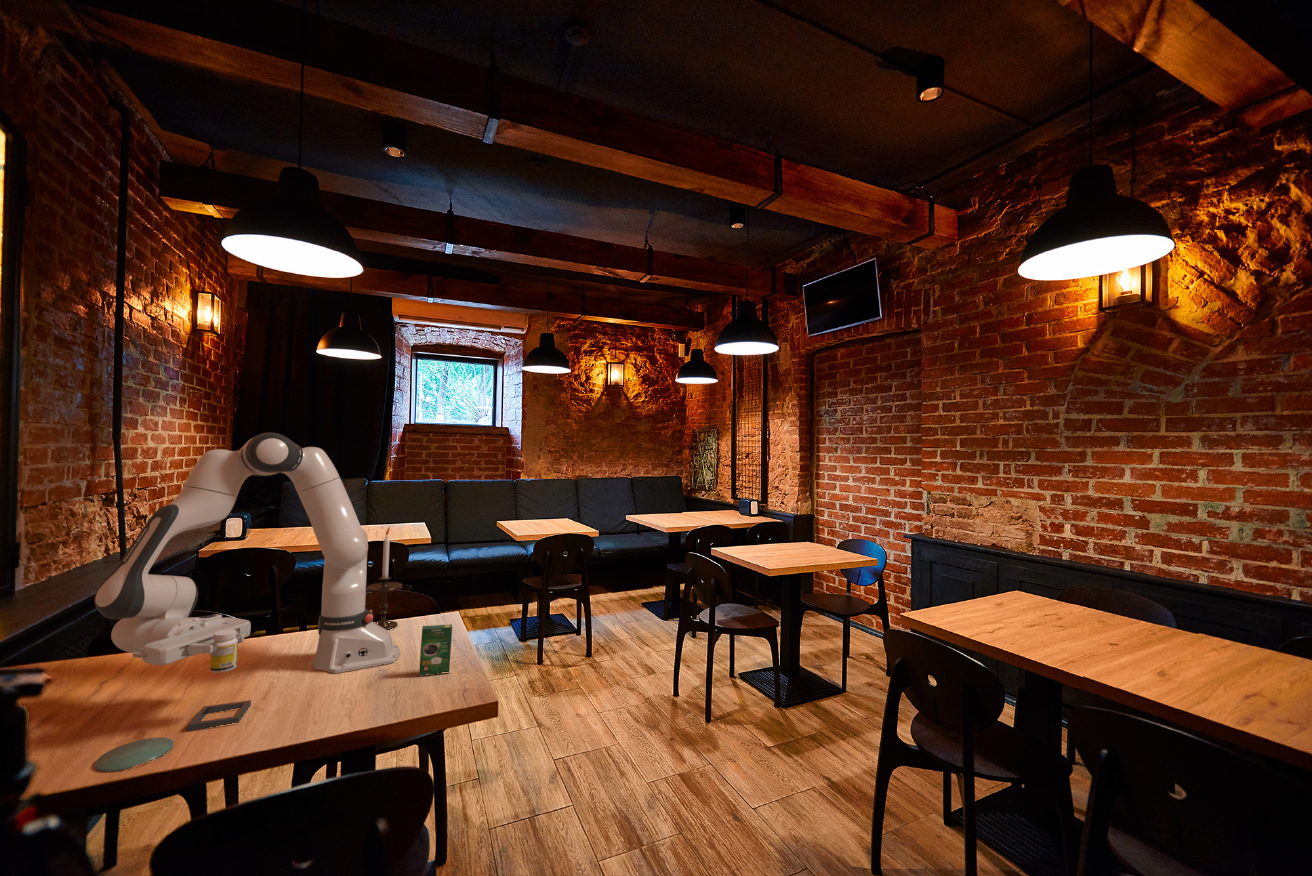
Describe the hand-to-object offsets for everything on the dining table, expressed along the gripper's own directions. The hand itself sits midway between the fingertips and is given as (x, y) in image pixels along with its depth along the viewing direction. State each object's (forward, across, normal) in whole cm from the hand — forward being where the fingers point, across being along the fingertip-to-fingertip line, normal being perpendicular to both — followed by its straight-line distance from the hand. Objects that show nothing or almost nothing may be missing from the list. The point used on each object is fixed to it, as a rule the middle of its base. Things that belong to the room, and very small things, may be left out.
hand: (227, 644), depth 120 cm
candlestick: (-10, +63, +17) cm, 66 cm away
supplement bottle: (-1, 0, +6) cm, 6 cm away
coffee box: (+30, +34, +17) cm, 48 cm away
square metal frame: (-1, 0, +17) cm, 17 cm away
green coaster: (-2, -16, +17) cm, 23 cm away
